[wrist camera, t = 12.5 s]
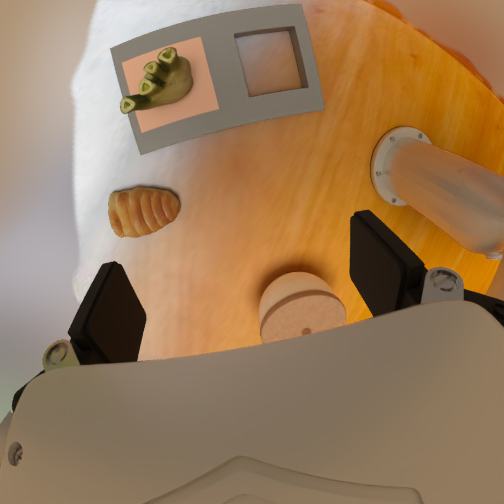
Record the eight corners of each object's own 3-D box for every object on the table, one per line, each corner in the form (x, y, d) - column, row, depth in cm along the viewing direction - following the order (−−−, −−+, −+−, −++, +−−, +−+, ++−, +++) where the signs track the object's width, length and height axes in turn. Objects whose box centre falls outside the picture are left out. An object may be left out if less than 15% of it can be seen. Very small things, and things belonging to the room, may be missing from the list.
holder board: (295, 9, 24) (301, 3, 22) (317, 108, 31) (325, 110, 29) (116, 51, 24) (109, 48, 21) (145, 151, 31) (140, 155, 29)
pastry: (175, 176, 34) (171, 185, 31) (185, 223, 38) (183, 236, 34) (108, 191, 33) (99, 202, 30) (122, 235, 37) (115, 249, 34)
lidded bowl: (235, 293, 45) (243, 346, 35) (297, 242, 41) (322, 288, 32) (283, 327, 50) (298, 376, 41) (339, 286, 47) (365, 331, 38)
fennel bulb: (154, 113, 27) (123, 123, 17) (137, 77, 24) (97, 68, 14) (202, 91, 26) (198, 86, 16) (186, 53, 24) (171, 28, 14)
